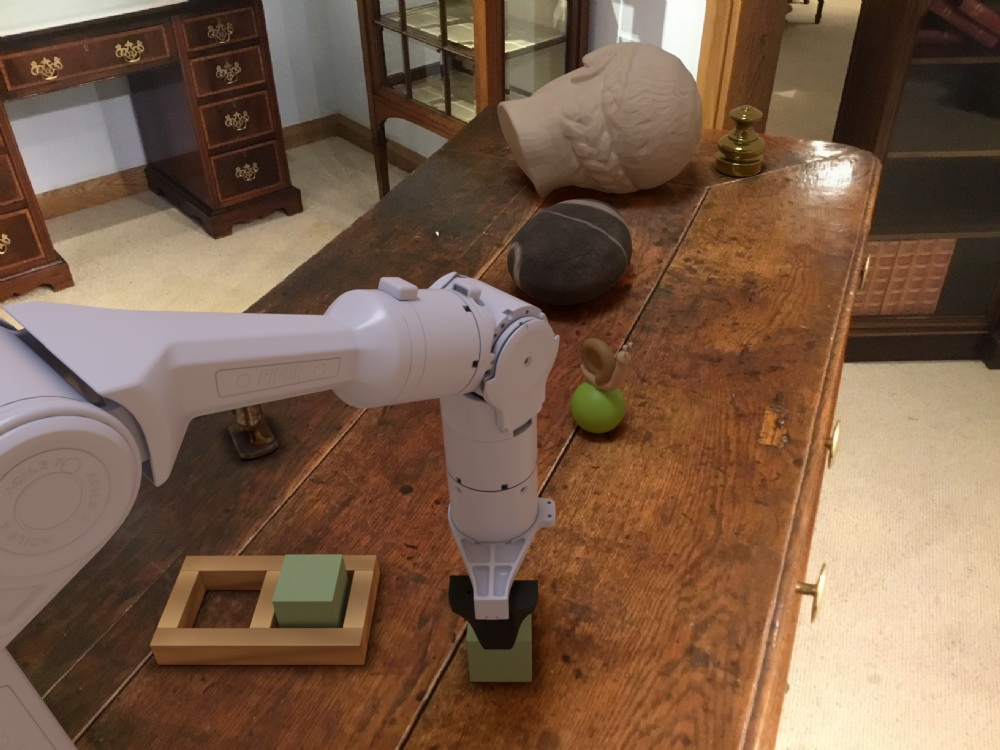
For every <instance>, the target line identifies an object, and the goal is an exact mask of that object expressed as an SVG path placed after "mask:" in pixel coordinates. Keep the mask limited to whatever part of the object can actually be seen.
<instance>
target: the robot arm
mask: <svg viewBox="0 0 1000 750" xmlns="http://www.w3.org/2000/svg"><path fill="white" fill-rule="evenodd" d="M1 309H2V310H3V311H4V312H5V313H7V315H9V316H10V317H11V318H13V320H14V321H16V323H18V324H19V326H22V327H23V328H21V329H18V328H17V327H15V325H13V324H11V323H10V322H9V321H7V320H5V319H4V318H2V317H0V750H79V749H78V748H77V746H76V745H75V744H74V742H73V741H72V739H71V738H70V737H69V735H68V734H67V732H66V731H65V729H64V728H63V726H62V725H61V724H60V722H59V721H58V719H57V718H56V716H55V715H54V714H53V712H52V711H51V710H50V708H49V706H48V705H47V704H46V703H45V700H43V698H42V697H41V696H40V694H39V692H38V691H37V689H36V688H35V687H34V685H33V684H32V682H31V681H30V680H29V678H28V676H26V674H25V672H24V671H23V670H22V668H21V667H20V665H19V664H18V663H17V662H16V659H15V658H14V657H13V655H12V654H11V653H10V651H9V650H8V648H7V646H8V645H9V644H10V643H11V642H12V641H13V640H15V638H16V637H17V636H18V635H19V634H20V633H21V631H23V630H24V629H25V628H26V627H27V626H28V625H29V624H30V623H31V622H32V621H33V619H34V618H35V617H37V615H38V614H39V613H40V612H41V611H42V610H44V608H45V607H46V606H47V605H48V604H49V603H50V602H51V601H52V600H53V599H54V598H55V597H56V596H57V595H58V594H59V593H60V592H61V591H62V590H63V589H64V588H65V587H66V586H67V584H69V583H70V581H72V580H73V578H75V577H76V576H77V574H78V573H80V571H81V570H82V569H84V567H85V566H86V565H87V564H88V563H89V562H90V561H91V560H92V559H93V558H94V557H95V556H96V555H97V554H98V553H99V552H100V551H101V550H102V548H103V547H104V546H105V545H106V544H107V543H108V542H109V541H110V539H111V538H112V537H113V536H114V535H115V534H116V532H117V531H118V530H119V529H120V527H121V526H122V524H123V523H124V522H125V520H126V519H127V517H128V515H130V512H131V511H132V508H133V506H134V504H135V502H136V500H137V496H138V494H139V491H140V487H141V483H142V482H141V481H142V475H143V476H144V477H145V478H146V479H147V480H148V481H150V482H151V483H152V484H153V486H154V487H156V488H158V487H160V486H161V485H163V484H164V483H166V481H167V480H168V479H169V477H170V476H171V473H172V471H173V467H174V465H175V463H176V459H177V457H178V454H179V451H180V449H181V447H182V443H183V441H184V439H185V435H186V433H187V430H188V427H189V425H190V423H191V421H192V420H193V419H196V418H198V417H201V416H207V415H212V414H217V413H221V412H227V411H231V410H232V409H237V408H242V407H246V406H251V405H256V404H260V405H261V404H266V403H270V402H271V403H272V402H276V401H280V400H286V399H291V398H295V397H300V396H304V395H310V394H311V395H312V394H315V393H320V392H325V391H329V390H331V391H332V392H333V393H334V395H336V396H337V397H338V398H339V400H341V401H342V402H343V403H345V404H346V405H348V406H350V407H353V408H356V409H359V410H360V409H361V410H366V409H373V408H380V407H386V406H395V405H401V404H408V403H414V402H420V401H421V402H422V401H427V400H428V401H429V400H434V399H439V407H440V408H439V409H440V416H441V426H442V435H443V437H442V438H443V448H444V455H445V456H444V457H445V469H446V478H447V479H446V480H447V488H448V489H447V490H448V498H449V499H448V500H449V504H448V507H447V519H448V526H449V530H450V532H451V534H452V537H453V540H454V542H455V544H456V547H457V549H458V552H459V554H460V557H461V560H462V562H463V565H464V566H465V570H466V573H467V574H451V575H449V581H448V594H447V596H448V604H449V606H450V609H451V611H452V612H453V614H455V615H457V616H459V617H461V618H462V619H464V620H465V621H466V622H467V624H468V623H469V624H470V625H471V627H472V629H473V630H474V632H475V635H476V637H477V639H478V641H479V642H480V644H481V646H482V647H483V649H484V650H511V649H512V648H513V646H514V644H515V641H516V639H517V635H518V632H519V628H520V626H521V623H522V622H523V620H524V619H525V618H526V617H527V616H528V615H529V614H531V615H532V614H534V612H535V611H536V609H537V606H538V603H539V580H538V579H516V576H517V574H518V572H519V570H520V568H521V566H522V564H523V562H524V560H525V557H526V555H527V553H528V551H529V550H530V547H531V544H532V543H533V541H534V539H535V537H536V534H537V532H538V531H539V530H541V529H543V528H547V529H548V528H552V527H554V526H555V525H556V521H557V519H556V518H557V517H556V516H557V515H556V514H557V512H556V511H557V510H556V502H555V500H554V499H552V498H548V497H539V494H538V492H539V491H538V490H539V487H538V485H539V484H538V483H539V482H538V414H539V413H540V412H541V411H542V410H543V409H542V408H543V404H544V402H546V386H547V381H548V378H549V375H550V374H551V371H552V369H553V367H554V364H555V363H556V359H557V356H558V352H559V348H560V347H559V346H560V339H561V336H560V335H559V334H556V333H554V330H553V328H552V326H551V325H550V324H549V319H548V317H547V315H546V313H544V312H543V311H542V309H541V308H539V307H537V306H535V305H533V304H531V303H529V302H527V301H524V300H522V299H520V298H518V297H516V296H513V295H511V294H509V293H507V292H505V291H503V290H501V289H499V288H496V287H494V286H492V285H490V284H488V283H486V282H484V281H481V280H479V279H477V278H474V277H469V276H468V275H464V274H460V273H458V272H457V271H452V272H449V273H447V274H444V275H443V276H441V277H440V278H438V279H437V280H436V281H435V282H433V284H431V285H430V287H428V288H418V286H417V285H415V284H413V283H411V282H409V281H407V280H405V279H403V278H401V277H399V276H383V277H381V278H380V279H379V283H378V287H377V288H373V289H371V288H370V289H368V288H367V289H365V288H364V289H360V288H359V289H352V290H348V291H346V292H344V293H342V294H341V295H339V296H338V297H337V298H335V299H334V300H333V302H332V303H331V304H330V305H329V306H328V308H327V309H326V311H325V312H324V313H323V314H294V313H293V314H292V313H290V314H289V313H260V312H259V313H256V312H255V313H254V312H253V313H252V312H220V311H219V312H215V311H213V312H212V311H181V310H180V311H179V310H178V311H175V310H141V309H119V308H108V307H99V306H92V305H91V306H89V305H81V304H70V303H62V302H52V301H41V300H36V301H35V300H33V301H23V302H19V303H13V304H12V303H11V304H6V305H1Z"/></svg>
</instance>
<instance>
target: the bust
mask: <svg viewBox="0 0 1000 750" xmlns="http://www.w3.org/2000/svg"><path fill="white" fill-rule="evenodd" d="M581 62H582V64H583V66H581V67H579V68H576V69H574V70H572V71H570V72H569V71H568V73H565V74H563V75H560V76H559V77H557V78H555V79H553V80H551V81H549V82H548V83H546V84H545V85H543V86H542V87H540V88H539V89H537V90H536V91H534V92H533V93H532V94H531V95H530V96H528V97H525V98H519V99H511V100H504V101H500V102H499V103H498V105H497V107H496V112H497V116H498V121H499V125H500V129H501V132H502V135H503V137H504V139H505V142H506V143H507V146H508V148H509V150H510V153H511V155H512V157H513V159H514V160H515V162H516V164H517V166H518V167H519V169H520V170H522V172H523V173H524V175H526V177H527V178H528V179H529V180H530V181H531V183H532V184H533V186H534V188H535V191H536V193H537V195H538V196H539V197H540V198H541V199H544V198H545V197H546V196H547V195H548V194H550V193H551V192H552V191H554V190H558V189H560V188H565V187H571V186H573V187H577V188H582V189H591V190H594V191H599V192H603V193H606V194H619V195H622V194H629V193H636V192H639V191H640V190H651V189H654V188H658V187H659V186H661V185H663V184H665V183H667V182H669V181H671V180H673V179H674V178H676V177H677V176H678V175H680V173H681V172H682V171H683V170H684V168H685V167H686V166H687V165H688V164H689V163H690V162H691V161H692V159H693V158H694V155H695V153H696V149H697V147H698V145H699V143H700V141H701V137H702V130H703V113H704V112H703V110H704V109H703V102H702V96H701V94H700V91H699V89H698V84H697V81H696V78H695V77H694V75H693V74H692V72H691V71H690V70H689V69H688V68H687V66H686V65H685V63H684V62H683V61H682V60H681V59H680V57H678V56H676V55H675V54H673V53H671V52H669V51H667V50H665V49H663V48H662V47H660V46H659V45H655V44H652V43H642V42H637V41H624V42H622V41H621V42H617V43H616V42H615V43H611V44H607V45H603V46H601V47H599V48H597V49H595V50H593V51H591V52H588V53H586V54H585V55H584V56H582V59H581Z"/></svg>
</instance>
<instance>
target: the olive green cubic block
mask: <svg viewBox="0 0 1000 750" xmlns="http://www.w3.org/2000/svg"><path fill="white" fill-rule="evenodd" d="M466 627H467V628H466V649H467V650H466V652H467V660H468V672H469V681H470V683H532V682H533V658H532V657H533V645H532V643H533V642H532V641H533V640H532V639H533V637H532V636H533V635H532V634H533V632H532V613H531V614H529V615H528V616H527V617H526V618H525V619H524V620H523V622H522V623H521V626H520V628H519V632H518V635H517V639H516V641H515V644H514V646H513V648H512V649H511V650H484V649H483V647H482V646H481V644H480V642H479V641H478V639H477V637H476V635H475V632H474V630H473V629H472V627H471V625H470V624H469V623H468V622H467V626H466Z"/></svg>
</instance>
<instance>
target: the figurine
mask: <svg viewBox="0 0 1000 750" xmlns="http://www.w3.org/2000/svg"><path fill="white" fill-rule="evenodd" d="M263 412H264V411H263V409H262V406H261V404H256V405H251V406H246V407H242V408H237V409H232V410H230V413H231V414H233V416H234V418H235V419H234V420H235V423H232V425H230V426H228V427H227V430H228V433H229V435H230V438H231V439H232V443H233V444H234V447H235V449H236V451H237V453H238V456H239V458H240V459H244V460H253V459H257V458H263V457H266V456H268V455H271V454H273V453H274V452H275V451H276V450H277V449H278V447H279V444H278V441H277V439H276V437H275V436H274V434H273V433H272V431H271V429H270V426H269V424H268V422H267V420H266V418H265V417H264V413H263Z"/></svg>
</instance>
